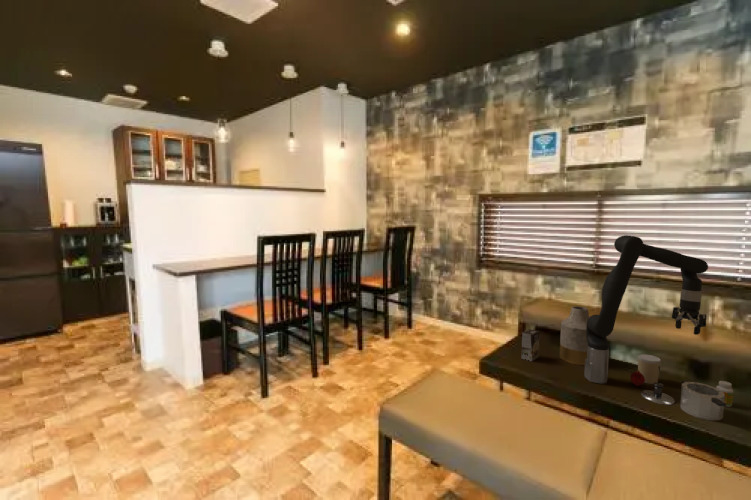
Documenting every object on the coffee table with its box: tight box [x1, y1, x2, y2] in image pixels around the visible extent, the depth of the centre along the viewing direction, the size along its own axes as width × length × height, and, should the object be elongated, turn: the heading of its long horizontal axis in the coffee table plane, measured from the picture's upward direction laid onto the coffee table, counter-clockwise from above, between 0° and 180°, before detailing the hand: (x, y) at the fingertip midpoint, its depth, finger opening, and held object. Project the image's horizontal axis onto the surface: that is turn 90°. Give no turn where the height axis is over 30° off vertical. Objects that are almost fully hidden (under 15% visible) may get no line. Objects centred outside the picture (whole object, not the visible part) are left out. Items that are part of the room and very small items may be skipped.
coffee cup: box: [637, 353, 662, 385], centre depth 178 cm, size 9×9×12 cm
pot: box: [679, 380, 727, 422], centre depth 150 cm, size 19×13×10 cm
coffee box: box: [520, 328, 540, 362], centre depth 207 cm, size 9×6×16 cm
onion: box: [629, 369, 645, 387], centre depth 173 cm, size 6×6×8 cm
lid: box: [640, 382, 676, 406], centre depth 162 cm, size 12×12×7 cm
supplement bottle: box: [715, 380, 734, 408], centre depth 156 cm, size 5×5×10 cm
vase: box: [559, 305, 590, 367], centre depth 204 cm, size 18×18×30 cm
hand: (687, 331), depth 172 cm, fingers open, 8 cm apart
